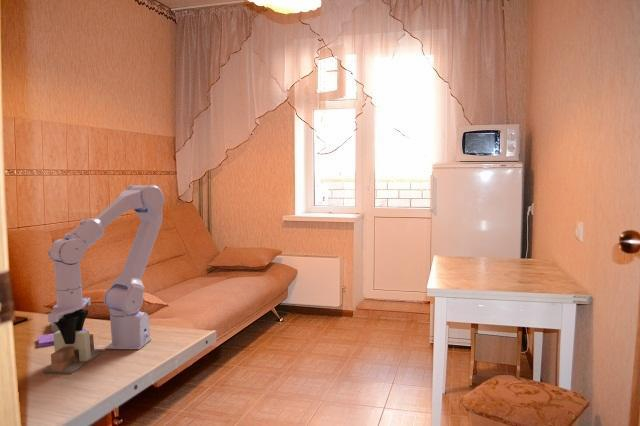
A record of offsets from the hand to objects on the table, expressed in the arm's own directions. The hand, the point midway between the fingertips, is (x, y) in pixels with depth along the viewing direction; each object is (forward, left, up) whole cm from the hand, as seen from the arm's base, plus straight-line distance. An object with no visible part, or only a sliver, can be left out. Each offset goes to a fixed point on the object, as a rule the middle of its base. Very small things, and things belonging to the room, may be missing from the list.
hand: (72, 341), depth 121 cm
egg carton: (+20, -28, -6) cm, 34 cm away
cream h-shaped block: (0, 0, -4) cm, 5 cm away
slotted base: (0, 0, -5) cm, 5 cm away
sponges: (+13, -16, -6) cm, 21 cm away
